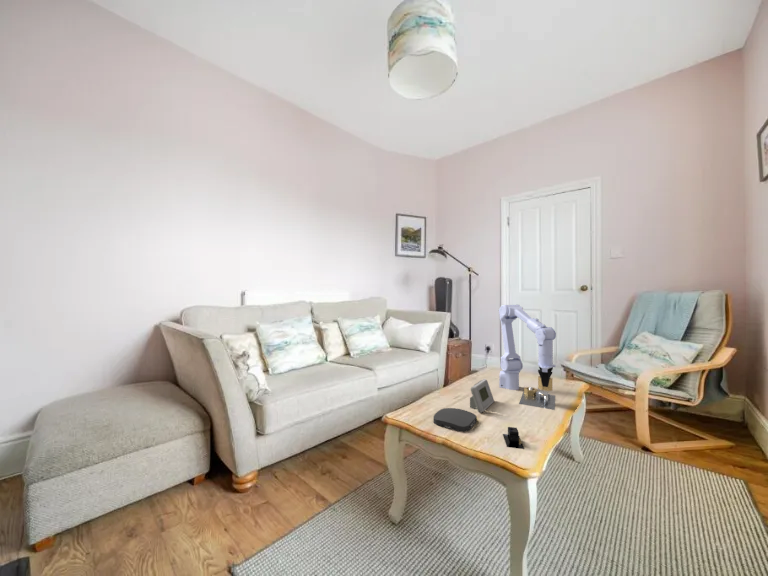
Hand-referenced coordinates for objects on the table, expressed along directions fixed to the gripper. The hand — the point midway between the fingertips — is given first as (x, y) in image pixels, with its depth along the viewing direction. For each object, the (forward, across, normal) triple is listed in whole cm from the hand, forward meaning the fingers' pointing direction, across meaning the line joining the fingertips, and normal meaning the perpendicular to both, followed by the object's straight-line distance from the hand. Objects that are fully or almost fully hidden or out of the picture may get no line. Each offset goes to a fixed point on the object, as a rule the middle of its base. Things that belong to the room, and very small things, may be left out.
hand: (545, 384), depth 137 cm
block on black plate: (+10, -42, +8) cm, 44 cm away
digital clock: (+10, -16, +24) cm, 31 cm away
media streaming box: (+10, -37, +30) cm, 49 cm away
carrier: (+9, +4, +3) cm, 10 cm away
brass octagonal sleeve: (+2, 0, 0) cm, 2 cm away
